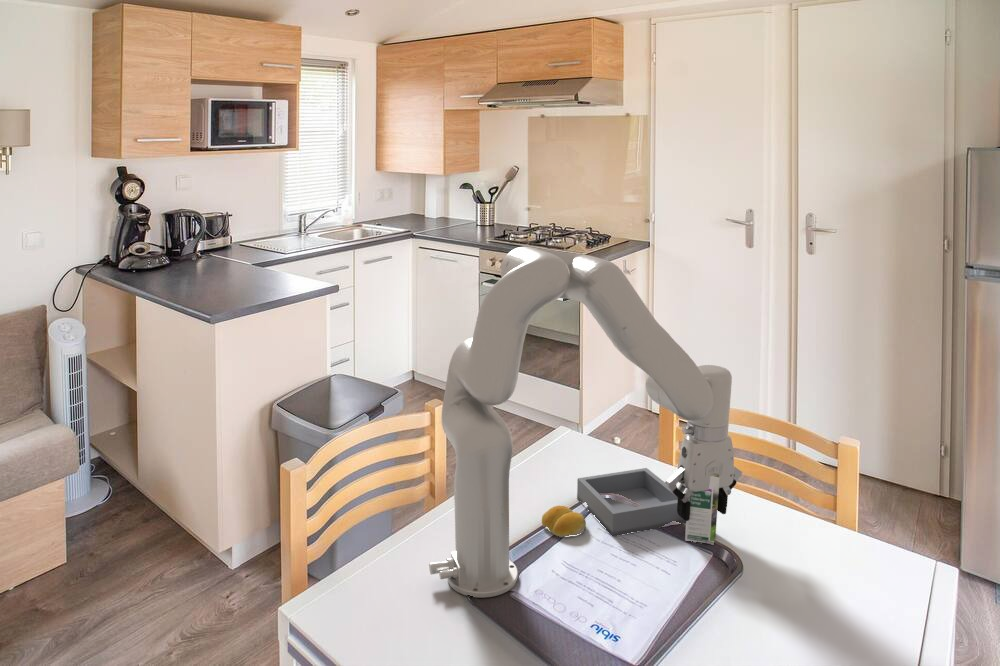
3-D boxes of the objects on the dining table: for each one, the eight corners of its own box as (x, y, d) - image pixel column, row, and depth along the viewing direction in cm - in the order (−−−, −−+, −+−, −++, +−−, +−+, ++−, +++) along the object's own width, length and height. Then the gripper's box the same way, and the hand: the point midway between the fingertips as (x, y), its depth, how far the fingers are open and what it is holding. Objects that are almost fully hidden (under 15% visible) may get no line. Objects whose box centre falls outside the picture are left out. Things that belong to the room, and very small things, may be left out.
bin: (612, 536, 141) (613, 513, 140) (577, 499, 156) (577, 478, 155) (686, 523, 146) (688, 501, 145) (645, 488, 162) (646, 467, 160)
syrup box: (684, 542, 139) (688, 473, 135) (686, 527, 144) (690, 461, 141) (714, 546, 137) (720, 477, 134) (715, 531, 143) (720, 464, 139)
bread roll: (566, 543, 139) (567, 525, 138) (535, 526, 145) (535, 508, 144) (595, 529, 144) (595, 511, 143) (563, 513, 151) (563, 496, 150)
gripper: (678, 443, 129) (673, 530, 133) (758, 431, 135) (751, 516, 139) (656, 428, 136) (652, 512, 140) (734, 418, 141) (727, 499, 146)
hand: (701, 513), depth 139 cm, fingers closed on syrup box, 7 cm apart
